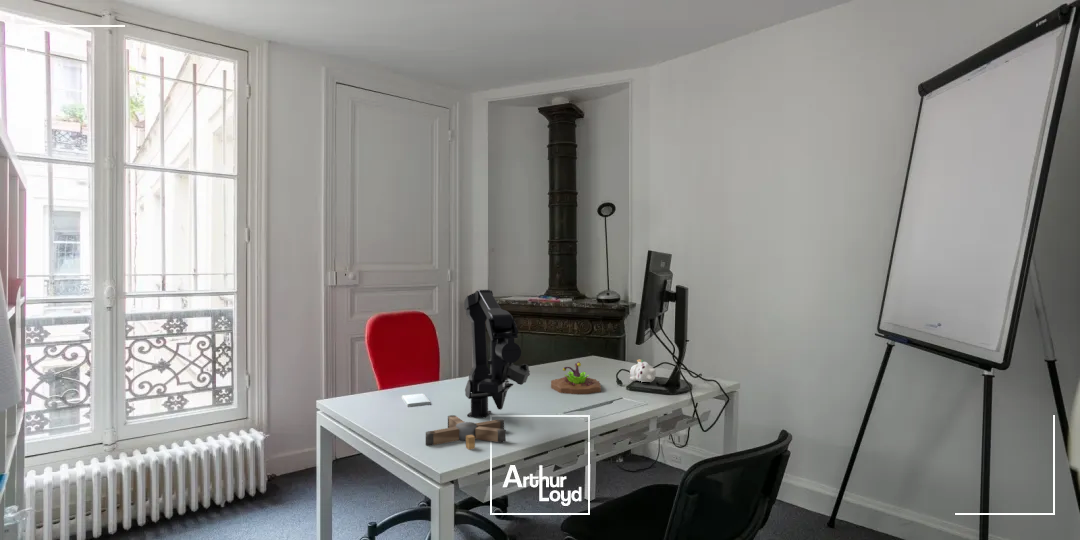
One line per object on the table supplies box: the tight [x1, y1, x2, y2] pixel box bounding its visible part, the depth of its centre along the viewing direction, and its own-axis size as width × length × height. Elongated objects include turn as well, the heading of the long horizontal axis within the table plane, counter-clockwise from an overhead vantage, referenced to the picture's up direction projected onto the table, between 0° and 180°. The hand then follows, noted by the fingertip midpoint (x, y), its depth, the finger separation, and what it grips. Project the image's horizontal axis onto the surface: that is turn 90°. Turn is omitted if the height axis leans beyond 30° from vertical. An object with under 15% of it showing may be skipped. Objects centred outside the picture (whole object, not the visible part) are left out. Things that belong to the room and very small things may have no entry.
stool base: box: [425, 414, 505, 451], centre depth 163 cm, size 22×25×4 cm
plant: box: [550, 361, 602, 395], centre depth 221 cm, size 20×20×11 cm
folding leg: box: [475, 426, 507, 443], centre depth 160 cm, size 9×3×3 cm, turn 71°
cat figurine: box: [629, 358, 657, 383], centre depth 231 cm, size 10×8×15 cm
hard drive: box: [401, 393, 432, 408], centre depth 201 cm, size 2×8×12 cm
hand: (500, 409), depth 163 cm, fingers closed
